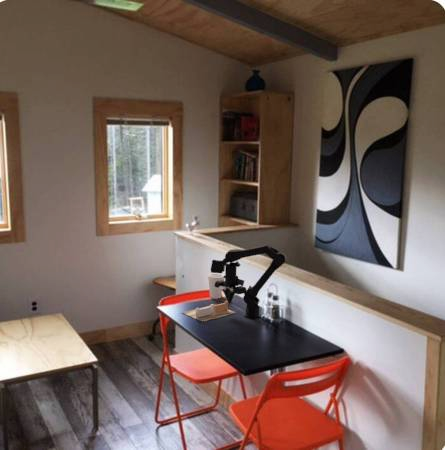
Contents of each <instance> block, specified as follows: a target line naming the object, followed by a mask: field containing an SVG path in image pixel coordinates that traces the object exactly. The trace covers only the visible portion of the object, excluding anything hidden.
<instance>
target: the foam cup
mask: <svg viewBox="0 0 445 450" xmlns="http://www.w3.org/2000/svg"><path fill="white" fill-rule="evenodd" d="M224 276H225V275H224V274H223V273H209V274H208V276H207V280H208V289H209V297H210V299H214V300H219V299H221V298H222V294H223V291H222V289H223V287H222V286H220V287H219V288H217V287H215V282H216V281H221V280H223V281H225V278H224ZM218 298H219V299H218Z"/></svg>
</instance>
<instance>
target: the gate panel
mask: <svg viewBox="0 0 445 450" xmlns="http://www.w3.org/2000/svg"><path fill="white" fill-rule="evenodd" d="M227 310H229V303H228V301H227V300H225V301H224V302H223V303H219V304H214V313H218V312H222V311H227Z"/></svg>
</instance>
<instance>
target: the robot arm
mask: <svg viewBox="0 0 445 450" xmlns="http://www.w3.org/2000/svg"><path fill="white" fill-rule="evenodd" d="M263 254H265V255H267V257H269V258H270V259H272V261H271V263H269V264H270V265H269V266H268V267H267V269H266V270H265V271H264V272H263V273H262V275H261V276H260V278H259V279H258V280H257V281H256V282H255V284H254V285H253V286H251V285H249V287H248V288H246V287H245V286H244V284H245V280H243V279H240V278H239V276H238V275H237V269H238V268H239V267H240V266H241V264H240V262H239V261H240V260H241V259H243V258H248V257H253V256H254V257H255V256H257V255H263ZM224 257H225V258H223V259H222V260H218V259H217V260H216V259H212V260H211V265H210V274H223V273H224V274H225V275H224V281H223V280H221V281H216V282H215V287H217V288H219V287H220V286H222V287H223V289H222V293H223V294H224V296H225V299H226V301H228V304H231V303H232V302H233V299H234V297H235V295H242V294H243V298H242V299H243V302H244V303H245V304H246V307H245V314H244V315H243V317H244V318H247V319H250V320H255V319H256V320H257V319H260V318H261V317H262V316H261V315H260V306H259V303H260V298H259V297H258V294H259V292H260V290H261V289H262V288H263V287H264V286H265V284H266V283H268V280H269V279H270V278H271V277H272V276H273V274H274V273H275V272H276V270H278V269H279V268H280V267H281V266H283V265H284V264H285V263H286V260H287V255H286V253H285V252H283V251H279V250H278V249H276V248H274V247H272V246H270V245H269V244H264V245H260V246H255V247H254V246H253V247H249V248H244V249H237V248H235V249H229V250H228V251H227V252H226V254H225V256H224Z"/></svg>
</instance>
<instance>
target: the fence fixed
mask: <svg viewBox="0 0 445 450" xmlns="http://www.w3.org/2000/svg"><path fill="white" fill-rule="evenodd" d="M214 305H215V304H213V303H211V304H210V305H208V306H209V307H207V306H204V307H205V308H203V307H196V308H195V309H196V318H199V317H203V316H206V315H210V314H211V315H214ZM199 308H201V309H199Z"/></svg>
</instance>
